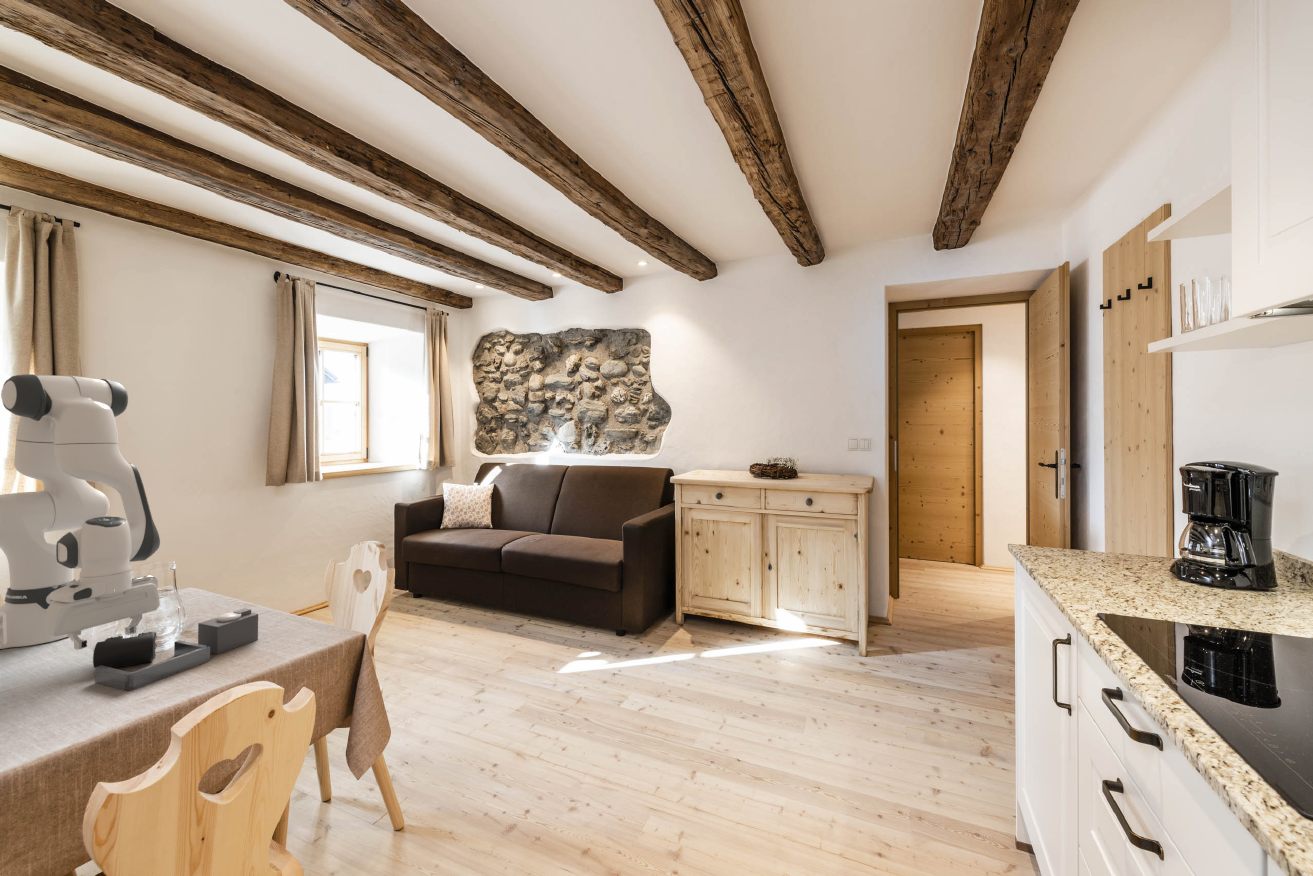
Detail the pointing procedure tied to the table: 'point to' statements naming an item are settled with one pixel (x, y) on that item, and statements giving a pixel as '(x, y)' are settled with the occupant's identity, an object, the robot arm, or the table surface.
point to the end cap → (125, 650)
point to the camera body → (228, 631)
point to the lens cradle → (154, 667)
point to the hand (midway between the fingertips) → (106, 640)
